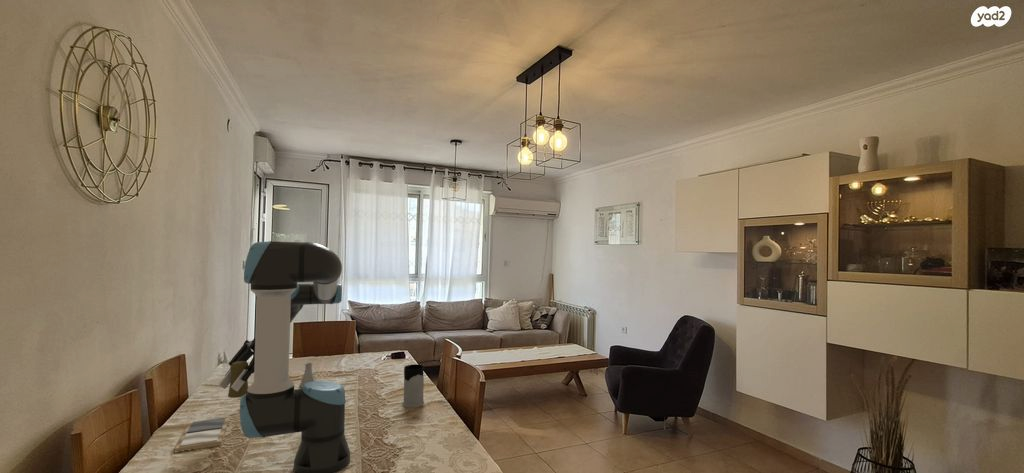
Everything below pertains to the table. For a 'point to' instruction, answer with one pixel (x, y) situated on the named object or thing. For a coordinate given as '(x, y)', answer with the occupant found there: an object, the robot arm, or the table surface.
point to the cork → (236, 371)
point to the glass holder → (413, 386)
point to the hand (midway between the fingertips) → (228, 387)
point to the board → (203, 434)
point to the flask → (307, 374)
